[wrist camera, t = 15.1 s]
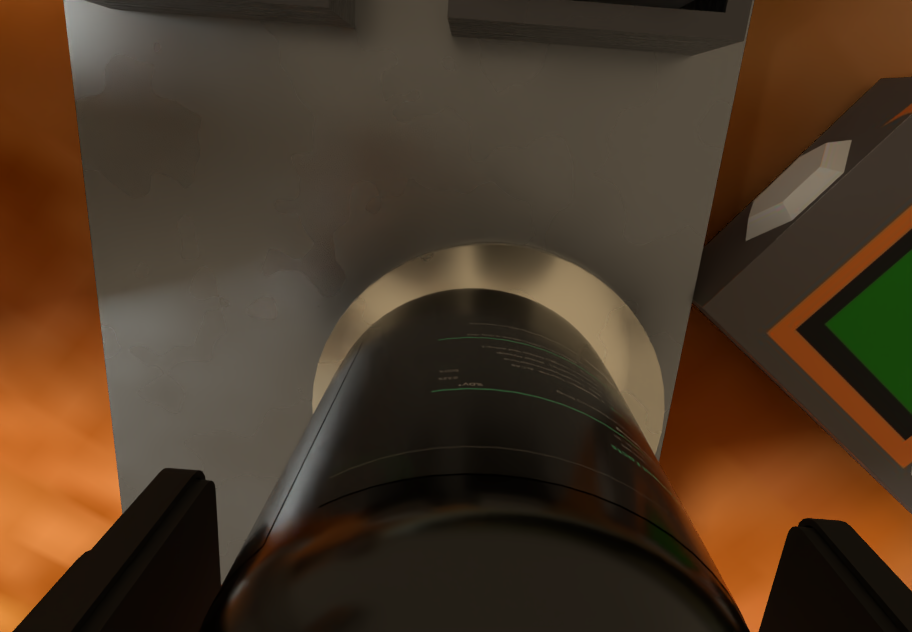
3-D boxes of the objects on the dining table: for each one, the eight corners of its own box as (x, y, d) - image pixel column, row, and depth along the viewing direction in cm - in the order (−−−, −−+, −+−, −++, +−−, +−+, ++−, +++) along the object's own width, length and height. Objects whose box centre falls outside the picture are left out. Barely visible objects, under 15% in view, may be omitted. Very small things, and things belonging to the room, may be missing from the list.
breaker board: (164, 531, 19) (76, 649, 15) (80, -396, 12) (-130, -674, 8) (611, 566, 19) (650, 693, 15) (783, -339, 12) (951, -587, 8)
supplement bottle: (493, 576, 16) (546, 1659, 5) (279, 436, 15) (-323, 1433, 4) (671, 395, 14) (1431, 1434, 3) (445, 220, 13) (289, 845, 2)
